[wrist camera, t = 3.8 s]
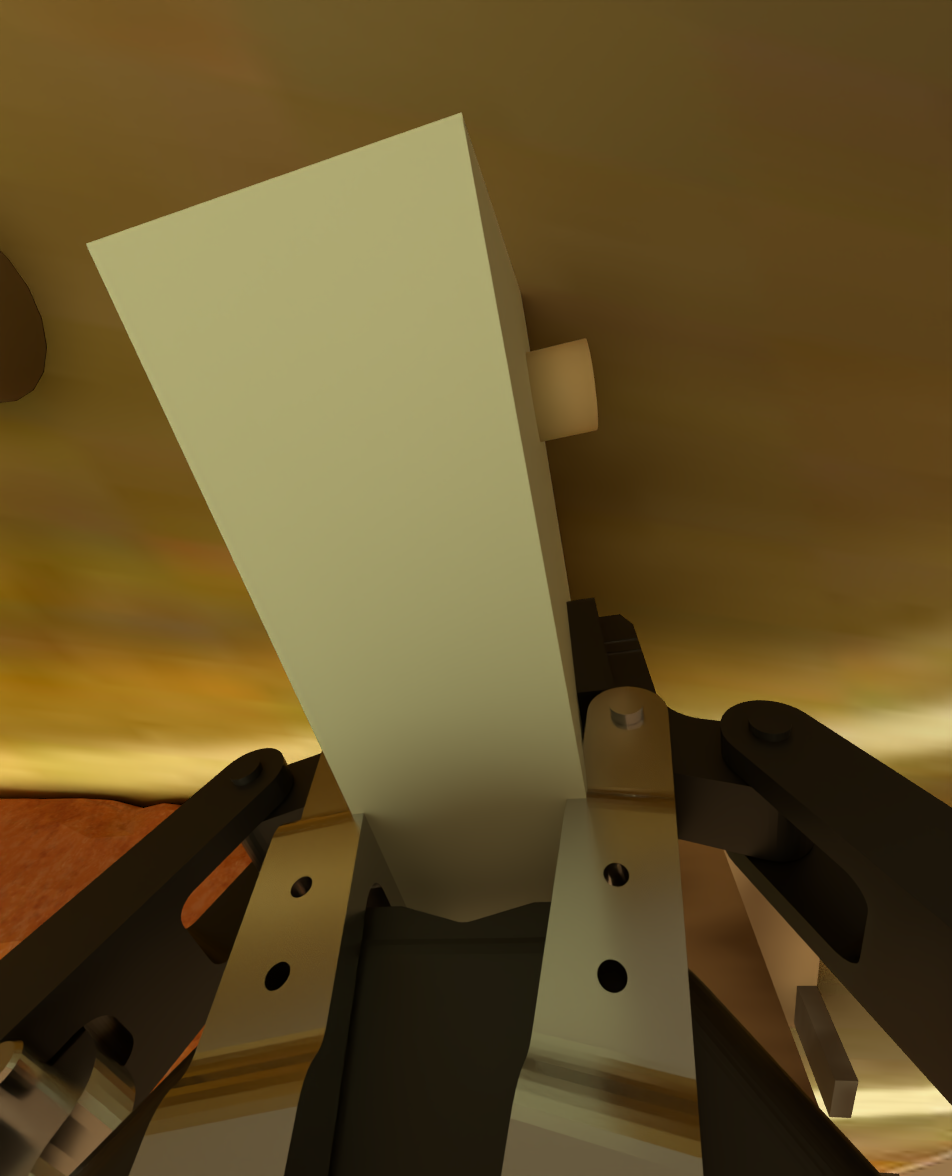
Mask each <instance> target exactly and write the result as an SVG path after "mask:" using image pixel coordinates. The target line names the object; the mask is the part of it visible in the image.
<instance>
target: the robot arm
mask: <svg viewBox="0 0 952 1176" xmlns="http://www.w3.org/2000/svg"><path fill="white" fill-rule="evenodd" d="M566 604H567V612H568V621H569V630H570V639H571V647H572V656H573V665H574V673H575V682H576V691H577V697H578V703H579V709H580V715H581V721H582V726H583V732H584V741H583V755H584V764H585V772H586V781H587V791H586V798H578V799H567V800H566V806H565V813H564V819H563V826H562V833H561V840H560V847H559V853H558V860H557V867H556V874H555V880H554V887H553V894H552V901H551V902H533V903H530V904H526V905H523V906H520V907H516V908H513V909H510V910H506V911H503V912H500V913H496V914H493V915H490V916H486V917H483V918H480V919H476V920H473V921H469V922H457V921H453V920H450V919H446V918H443V917H439V916H436V915H432V914H428V913H425V912H421V911H418V910H414V909H410V908H407V907H406V905H405V903H404V900H403V898H402V896H401V894H400V891H399V889H398V887H397V885H396V883H395V880H394V878H393V876H392V874H391V872H390V869H389V867H388V865H387V863H386V860H385V858H384V856H383V854H382V852H381V849H380V847H379V845H378V843H377V841H376V838H375V836H374V834H373V832H372V830H371V827H370V825H369V823H368V821H367V818H366V816H365V814H364V813H359V814H352V813H351V811H350V809H349V807H348V804H347V802H346V800H345V798H344V796H343V794H342V792H341V789H340V787H339V785H338V783H337V781H336V779H335V777H334V774H333V772H332V770H331V768H330V766H329V764H328V762H327V759H326V757H325V755H324V753H323V751H322V752H321V753H320V754H318V755H315V756H312V757H309V758H306V759H303V760H300V761H297V762H294V763H292V764H289V765H287V763H286V761H285V759H284V757H283V755H282V753H281V752H280V751H278V750H276V749H273V748H265V749H259V750H255V751H252V752H250V753H247V754H245V755H243V756H241V757H240V758H238V759H236V760H235V761H233V762H232V763H231V764H229V765H228V766H227V767H226V768H225V769H223V770H222V771H221V772H220V773H219V774H218V775H216V776H215V777H214V778H213V779H212V780H211V781H209V782H208V783H207V784H206V785H205V786H203V787H202V788H201V789H200V790H199V791H198V792H196V793H195V794H194V795H193V796H192V797H191V798H189V799H188V800H187V801H186V802H185V803H184V804H182V805H181V806H180V807H179V808H178V809H177V810H175V811H174V812H173V813H172V814H171V815H169V816H168V817H167V818H166V819H165V820H164V821H162V822H161V823H160V824H159V825H158V826H157V827H155V828H154V829H153V830H152V831H151V832H150V833H148V834H147V835H146V836H145V837H144V838H142V839H141V840H140V841H139V842H138V843H137V844H135V845H134V846H133V847H132V848H131V849H130V850H128V851H127V852H126V853H125V854H124V855H123V856H121V857H120V858H119V859H118V860H117V861H116V862H114V863H113V864H112V865H111V866H110V867H108V868H107V869H106V870H105V871H104V872H103V873H101V874H100V875H99V876H98V877H97V878H96V879H94V880H93V881H92V882H91V883H90V884H89V885H87V886H86V887H85V888H84V889H83V890H81V891H80V892H79V893H78V894H77V895H76V896H74V897H73V898H72V899H71V900H70V901H69V902H67V903H66V904H65V905H64V906H63V907H62V908H60V909H59V910H58V911H57V912H56V913H55V914H53V915H52V916H51V917H50V918H49V919H47V920H46V921H45V922H44V923H43V924H42V925H40V926H39V927H38V928H37V929H36V930H35V931H33V932H32V933H31V934H30V935H29V936H28V937H26V938H25V939H24V940H23V941H22V942H20V943H19V944H18V945H17V946H16V947H15V948H13V949H12V950H11V951H10V952H9V953H8V954H6V955H5V956H4V957H3V958H2V959H1V960H0V1176H882V1175H881V1174H880V1173H879V1172H878V1171H877V1170H876V1169H875V1167H874V1166H873V1165H872V1164H871V1163H870V1162H869V1161H868V1160H867V1159H866V1158H865V1157H864V1156H863V1154H862V1153H861V1152H860V1151H859V1150H858V1149H857V1148H856V1147H855V1146H854V1145H853V1144H852V1143H851V1142H850V1140H849V1139H848V1138H847V1137H846V1136H845V1135H844V1134H843V1133H842V1132H841V1131H840V1130H839V1129H838V1127H837V1126H836V1125H835V1124H834V1123H833V1122H832V1121H831V1120H830V1119H829V1118H828V1117H827V1116H826V1115H825V1113H824V1112H823V1111H822V1110H821V1109H820V1108H819V1107H818V1106H817V1105H816V1104H815V1103H814V1102H813V1100H812V1099H811V1098H810V1097H809V1096H808V1095H807V1094H806V1093H805V1092H804V1091H803V1090H802V1089H801V1087H800V1086H799V1085H798V1084H797V1083H796V1082H795V1081H794V1080H793V1079H792V1078H791V1077H790V1076H789V1075H788V1073H787V1072H786V1071H785V1070H784V1069H783V1068H782V1067H781V1066H780V1065H779V1064H778V1063H777V1062H776V1060H775V1059H774V1058H773V1057H772V1056H771V1055H770V1054H769V1053H768V1052H767V1051H766V1050H765V1049H764V1048H763V1046H762V1045H761V1044H760V1043H759V1042H758V1041H757V1040H756V1039H755V1038H754V1037H753V1036H752V1035H751V1033H750V1032H749V1031H748V1030H747V1029H746V1028H745V1027H744V1026H743V1025H742V1024H741V1023H740V1022H739V1021H738V1019H737V1018H736V1017H735V1016H734V1015H733V1014H732V1013H731V1012H730V1011H729V1010H728V1009H727V1008H726V1006H725V1005H724V1004H723V1003H722V1002H721V1001H720V1000H719V999H718V998H717V997H716V996H715V995H714V993H713V992H712V991H711V990H710V989H709V988H708V987H707V986H706V985H705V984H704V983H703V982H702V981H701V980H700V979H699V978H698V977H697V976H696V975H695V974H694V973H693V972H692V971H691V970H690V969H689V968H688V961H687V948H686V935H685V922H684V909H683V896H682V883H681V870H680V857H679V844H678V839H681V840H685V841H689V842H693V843H697V844H702V845H706V846H710V847H714V848H718V849H722V850H726V852H727V854H728V856H729V858H730V859H731V860H732V861H733V863H734V864H735V865H736V866H737V867H738V868H739V869H740V871H741V872H742V873H743V874H744V875H745V876H746V877H747V878H748V879H749V881H750V882H751V883H752V884H753V885H754V886H755V887H756V888H757V889H758V891H759V892H760V893H761V894H762V895H763V896H764V897H765V898H766V899H767V901H768V902H769V903H770V904H771V905H772V906H773V907H774V908H775V909H776V911H777V912H778V913H779V914H780V915H781V916H782V917H783V918H784V919H785V921H786V922H787V923H788V924H789V925H790V926H791V927H792V928H793V929H794V931H795V932H796V933H797V934H798V935H799V936H800V937H801V938H802V939H803V941H804V942H805V943H806V944H807V945H808V946H809V947H810V948H811V949H812V951H813V952H814V953H815V954H816V955H817V956H818V957H819V958H820V959H821V961H822V962H823V963H824V964H825V965H826V966H827V967H828V968H829V969H830V971H831V972H832V973H833V974H834V975H835V976H836V977H837V978H838V979H839V981H840V982H841V983H842V984H843V985H844V986H845V987H846V988H847V989H848V991H849V992H850V993H851V994H852V995H853V996H854V997H855V998H856V999H857V1001H858V1002H859V1003H860V1004H861V1005H862V1006H863V1007H864V1008H865V1009H866V1011H867V1012H868V1013H869V1014H870V1015H871V1016H872V1017H873V1018H874V1019H875V1021H876V1022H877V1023H878V1024H879V1025H880V1026H881V1027H882V1028H883V1029H884V1031H885V1032H886V1033H887V1034H888V1035H889V1036H890V1037H891V1038H892V1039H893V1041H894V1042H895V1043H896V1044H897V1045H898V1046H899V1047H900V1048H901V1049H902V1051H903V1052H904V1053H905V1054H906V1055H907V1056H908V1057H909V1058H910V1059H911V1061H912V1062H913V1063H914V1064H915V1065H916V1066H917V1067H918V1068H919V1069H920V1071H921V1072H922V1073H923V1074H924V1075H925V1076H926V1077H927V1078H928V1080H929V1081H930V1082H931V1083H932V1084H933V1085H934V1086H935V1087H936V1088H937V1090H938V1091H939V1092H940V1093H941V1094H942V1095H943V1096H944V1097H945V1098H946V1100H947V1101H948V1102H949V1103H950V1104H951V1105H952V808H951V807H950V806H948V805H947V804H945V803H944V802H942V801H941V800H939V799H937V798H936V797H934V796H933V795H931V794H930V793H928V792H927V791H925V790H923V789H922V788H920V787H919V786H917V785H916V784H914V783H913V782H911V781H910V780H908V779H906V778H905V777H903V776H902V775H900V774H899V773H897V772H896V771H894V770H893V769H891V768H889V767H888V766H886V765H885V764H883V763H882V762H880V761H879V760H877V759H875V758H874V757H872V756H871V755H869V754H868V753H866V752H865V751H863V750H862V749H860V748H858V747H857V746H855V745H854V744H852V743H851V742H849V741H848V740H846V739H844V738H843V737H841V736H840V735H838V734H837V733H835V732H834V731H832V730H831V729H829V728H827V727H826V726H824V725H823V724H821V723H820V722H818V721H817V720H815V719H814V718H812V717H810V716H809V715H807V714H806V713H804V712H802V711H801V710H799V709H797V708H794V707H792V706H789V705H786V704H783V703H779V702H774V701H763V700H756V701H748V702H743V703H740V704H737V705H735V706H733V707H731V708H730V709H728V710H727V711H726V712H725V713H724V715H723V716H722V719H721V721H715V720H707V719H699V718H693V717H689V716H686V715H683V714H680V713H678V712H676V711H674V710H672V709H670V708H669V707H667V706H666V704H665V702H664V701H663V700H662V698H660V697H659V696H658V695H657V694H656V691H655V689H654V686H653V683H652V680H651V677H650V674H649V671H648V668H647V665H646V662H645V659H644V656H643V653H642V651H641V647H640V644H639V641H638V639H637V635H636V632H635V629H634V626H633V624H632V623H630V622H629V621H628V620H626V619H625V618H624V617H623V616H621V615H620V614H619V615H612V616H605V617H598V612H597V608H596V603H595V599H594V598H588V599H581V600H574V601H567V602H566ZM240 844H242V846H243V847H244V849H245V851H246V852H247V854H248V855H249V857H250V859H251V860H252V862H251V863H250V864H249V865H248V866H247V867H246V868H245V869H244V871H243V872H242V873H241V874H240V875H239V876H238V877H237V878H236V879H235V880H234V881H233V882H232V883H231V884H230V885H229V886H228V888H227V889H226V890H225V891H224V892H223V893H222V894H221V895H220V896H219V897H218V898H217V899H216V900H215V901H214V902H213V903H212V905H211V906H210V907H209V908H208V909H207V910H206V911H205V912H204V913H203V914H202V915H201V916H200V917H199V918H198V919H197V920H196V921H195V922H194V923H193V924H192V925H191V926H190V927H188V928H185V927H184V926H183V924H182V921H181V913H182V909H183V906H184V904H185V902H186V900H187V899H188V897H189V896H190V894H191V893H192V892H193V891H194V890H195V889H196V888H197V887H198V886H199V885H200V884H201V883H202V882H203V881H204V880H205V879H206V878H207V877H208V876H209V875H210V874H211V873H212V872H213V871H214V870H215V869H216V868H217V867H218V866H219V865H220V864H221V863H222V862H223V861H224V860H225V859H226V858H227V857H228V856H229V855H230V854H231V853H232V852H233V851H234V850H235V849H236V848H237V847H238V846H239V845H240ZM204 1025H205V1026H204ZM203 1027H204V1029H203V1032H202V1035H201V1038H200V1040H199V1043H198V1046H197V1047H196V1048H195V1049H194V1050H193V1051H192V1052H191V1053H190V1054H189V1055H188V1056H187V1057H186V1058H185V1059H184V1060H183V1061H182V1062H181V1063H180V1064H179V1065H178V1066H177V1067H176V1068H175V1069H174V1070H173V1071H172V1072H171V1073H170V1074H169V1075H168V1076H167V1077H166V1078H165V1079H164V1080H163V1081H162V1082H161V1083H160V1084H159V1085H158V1086H157V1087H156V1085H157V1084H158V1083H159V1082H160V1080H161V1079H162V1078H163V1077H164V1075H165V1074H166V1073H167V1072H168V1070H169V1069H170V1068H171V1067H172V1065H173V1064H174V1063H175V1062H176V1060H177V1059H178V1058H179V1057H180V1055H181V1054H182V1053H183V1052H184V1050H185V1049H186V1048H187V1047H188V1045H189V1044H190V1043H191V1042H192V1040H193V1039H194V1038H195V1037H196V1035H197V1034H198V1033H199V1032H200V1030H201V1029H202V1028H203ZM155 1087H156V1088H155ZM154 1088H155V1089H154ZM153 1089H154V1090H153ZM152 1090H153V1091H152Z"/></svg>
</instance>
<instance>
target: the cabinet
mask: <svg viewBox="0 0 952 1176" xmlns="http://www.w3.org/2000/svg"><path fill="white" fill-rule="evenodd" d="M678 844H679V857H680V870H681V883H682V896H683V909H684V922H685V935H686V948H687V961H688V968H689V969H690V970H691V971H692V972H693V973H694V974H695V975H696V976H697V977H698V978H699V979H700V980H701V981H702V982H703V983H704V984H705V985H706V986H707V987H708V988H709V989H710V990H711V991H712V992H713V993H714V995H715V996H716V997H717V998H718V999H719V1000H720V1001H721V1002H722V1003H723V1004H724V1005H725V1006H726V1008H727V1009H728V1010H729V1011H730V1012H731V1013H732V1014H733V1015H734V1016H735V1017H736V1018H737V1019H738V1021H739V1022H740V1023H741V1024H742V1025H743V1026H744V1027H745V1028H746V1029H747V1030H748V1031H749V1032H750V1033H751V1035H752V1036H753V1037H754V1038H755V1039H756V1040H757V1041H758V1042H759V1043H760V1044H761V1045H762V1046H763V1048H764V1049H765V1050H766V1051H767V1052H768V1053H769V1054H770V1055H771V1056H772V1057H773V1058H774V1059H775V1060H776V1062H777V1063H778V1064H779V1065H780V1066H781V1067H782V1068H783V1069H784V1070H785V1071H786V1072H787V1073H788V1075H789V1076H790V1077H791V1078H792V1079H793V1080H794V1081H795V1082H796V1083H797V1084H798V1085H799V1086H800V1087H801V1089H802V1090H803V1091H804V1092H805V1093H806V1094H807V1095H808V1096H809V1097H810V1098H811V1099H812V1100H813V1102H814V1103H815V1104H816V1105H817V1106H818V1104H817V1101H816V1098H815V1096H814V1093H813V1090H812V1088H811V1085H810V1082H809V1079H808V1077H807V1074H806V1071H805V1069H804V1066H803V1063H802V1060H801V1058H800V1055H799V1052H798V1050H797V1047H796V1044H795V1042H794V1039H793V1036H792V1033H791V1031H790V1028H789V1027H796V1030H797V1032H798V1035H799V1038H800V1040H801V1043H802V1046H803V1048H804V1051H805V1054H806V1056H807V1059H808V1061H809V1064H810V1067H811V1069H812V1072H813V1075H814V1077H815V1080H816V1083H817V1085H818V1088H819V1090H820V1093H821V1096H822V1098H823V1101H824V1104H825V1106H826V1109H827V1112H828V1114H829V1117H842V1118H851V1115H852V1110H853V1105H854V1100H855V1095H856V1091H857V1086H858V1079H857V1077H856V1075H855V1072H854V1070H853V1068H852V1065H851V1063H850V1061H849V1059H848V1056H847V1054H846V1052H845V1049H844V1047H843V1045H842V1043H841V1040H840V1038H839V1036H838V1033H837V1031H836V1029H835V1026H834V1024H833V1022H832V1020H831V1017H830V1015H829V1013H828V1010H827V1008H826V1006H825V1004H824V1001H823V999H822V997H821V994H820V992H819V990H818V987H817V979H818V970H819V962H820V958H819V957H818V956H817V955H816V954H815V953H814V952H813V951H812V949H811V948H810V947H809V946H808V945H807V944H806V943H805V942H804V941H803V939H802V938H801V937H800V936H799V935H798V934H797V933H796V932H795V931H794V929H793V928H792V927H791V926H790V925H789V924H788V923H787V922H786V921H785V919H784V918H783V917H782V916H781V915H780V914H779V913H778V912H777V911H776V909H775V908H774V907H773V906H772V905H771V904H770V903H769V902H768V901H767V899H766V898H765V897H764V896H763V895H762V894H761V893H760V892H759V891H758V889H757V888H756V887H755V886H754V885H753V884H752V883H751V882H750V881H749V879H748V878H747V877H746V876H745V875H744V874H743V873H742V872H741V871H740V869H739V868H738V867H737V866H736V865H735V864H734V863H733V861H732V860H731V859H730V858H729V856H728V854H727V852H726V850H722V849H718V848H714V847H710V846H706V845H702V844H697V843H693V842H689V841H685V840H681V839H678ZM818 1107H819V1106H818ZM880 1174H881V1175H882V1176H899V1174H893V1173H880Z"/></svg>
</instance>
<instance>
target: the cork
mask: <svg viewBox="0 0 952 1176" xmlns="http://www.w3.org/2000/svg"><path fill="white" fill-rule="evenodd" d="M45 355H46V342H45V336H44V331H43V325H42V319H41V316H40V314H39V312H38V309H37V307H36V305H35V303H34V300H33V298H32V296H31V293H30V291H29V289H28V287H27V285H26V284H25V283H24V281H23V280H22V278H21V277H20V275H19V274H18V273H17V271H16V270H15V268H14V267H13V265H12V264H11V262H10V261H9V260H8V258H7V257H6V256H5V255H4V254H3V253H1V252H0V403H1V402H10V401H17V400H18V399H20V398H22V397H23V396H25V395H26V394H28V393H29V392H31V391H32V390H33V389H34V388H35V386H36V384H37V382H38V381H39V379H40V377H41V375H42V373H43V371H44V363H45Z"/></svg>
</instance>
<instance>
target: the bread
mask: <svg viewBox="0 0 952 1176" xmlns="http://www.w3.org/2000/svg"><path fill="white" fill-rule="evenodd" d="M180 806H181V805H175V804H167V803H162V804H158V805H154V806H150V807H146V808H141V807H137V806H133V805H130V804H126V803H122V802H118V801H114V800H100V799H82V798H74V799H27V798H21V799H0V960H1V959H2V958H3V957H4V956H5V955H6V954H8V953H9V952H10V951H11V950H12V949H13V948H15V947H16V946H17V945H18V944H19V943H20V942H22V941H23V940H24V939H25V938H26V937H28V936H29V935H30V934H31V933H32V932H33V931H35V930H36V929H37V928H38V927H39V926H40V925H42V924H43V923H44V922H45V921H46V920H47V919H49V918H50V917H51V916H52V915H53V914H55V913H56V912H57V911H58V910H59V909H60V908H62V907H63V906H64V905H65V904H66V903H67V902H69V901H70V900H71V899H72V898H73V897H74V896H76V895H77V894H78V893H79V892H80V891H81V890H83V889H84V888H85V887H86V886H87V885H89V884H90V883H91V882H92V881H93V880H94V879H96V878H97V877H98V876H99V875H100V874H101V873H103V872H104V871H105V870H106V869H107V868H108V867H110V866H111V865H112V864H113V863H114V862H116V861H117V860H118V859H119V858H120V857H121V856H123V855H124V854H125V853H126V852H127V851H128V850H130V849H131V848H132V847H133V846H134V845H135V844H137V843H138V842H139V841H140V840H141V839H142V838H144V837H145V836H146V835H147V834H148V833H150V832H151V831H152V830H153V829H154V828H155V827H157V826H158V825H159V824H160V823H161V822H162V821H164V820H165V819H166V818H167V817H168V816H169V815H171V814H172V813H173V812H174V811H175V810H177V809H178V808H179V807H180ZM251 862H252V860H251V859H250V857H249V855H248V854H247V852H246V851H245V849H244V847H243V846H242V844H240V845H239V846H238V847H237V848H236V849H235V850H234V851H233V852H232V853H231V854H230V855H229V856H228V857H227V858H226V859H225V860H224V861H223V862H222V863H221V864H220V865H219V866H218V867H217V868H216V869H215V870H214V871H213V872H212V873H211V874H210V875H209V876H208V877H207V878H206V879H205V880H204V881H203V882H202V883H201V884H200V885H199V886H198V887H197V888H196V889H195V890H194V891H193V892H192V893H191V894H190V896H189V897H188V899H187V900H186V902H185V904H184V906H183V909H182V913H181V921H182V924H183V926H184V927H185V928H188V927H190V926H191V925H192V924H193V923H194V922H195V921H196V920H197V919H198V918H199V917H200V916H201V915H202V914H203V913H204V912H205V911H206V910H207V909H208V908H209V907H210V906H211V905H212V903H213V902H214V901H215V900H216V899H217V898H218V897H219V896H220V895H221V894H222V893H223V892H224V891H225V890H226V889H227V888H228V886H229V885H230V884H231V883H232V882H233V881H234V880H235V879H236V878H237V877H238V876H239V875H240V874H241V873H242V872H243V871H244V869H245V868H246V867H247V866H248V865H249V864H250V863H251ZM204 1026H205V1025H204ZM203 1029H204V1027H203V1028H202V1029H201V1030H200V1032H199V1033H198V1034H197V1035H196V1037H195V1038H194V1039H193V1040H192V1042H191V1043H190V1044H189V1045H188V1047H187V1048H186V1049H185V1050H184V1052H183V1053H182V1054H181V1055H180V1057H179V1058H178V1059H177V1060H176V1062H175V1063H174V1064H173V1065H172V1067H171V1068H170V1069H169V1070H168V1072H167V1073H166V1074H165V1075H164V1077H163V1078H162V1079H161V1080H160V1082H159V1083H158V1084H157V1085H156V1087H157V1086H158V1085H159V1084H160V1083H161V1082H162V1081H163V1080H164V1079H165V1078H166V1077H167V1076H168V1075H169V1074H170V1073H171V1072H172V1071H173V1070H174V1069H175V1068H176V1067H177V1066H178V1065H179V1064H180V1063H181V1062H182V1061H183V1060H184V1059H185V1058H186V1057H187V1056H188V1055H189V1054H190V1053H191V1052H192V1051H193V1050H194V1049H195V1048H196V1047H197V1046H198V1043H199V1040H200V1038H201V1035H202V1032H203ZM156 1087H155V1088H156ZM155 1088H154V1089H155ZM154 1089H153V1090H154ZM153 1090H152V1091H153Z"/></svg>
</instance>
